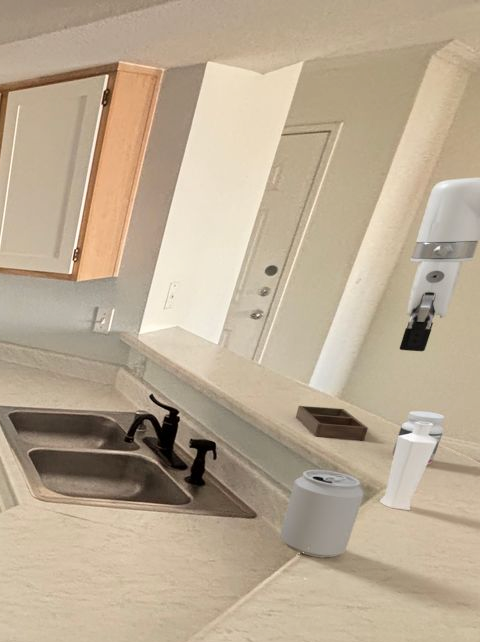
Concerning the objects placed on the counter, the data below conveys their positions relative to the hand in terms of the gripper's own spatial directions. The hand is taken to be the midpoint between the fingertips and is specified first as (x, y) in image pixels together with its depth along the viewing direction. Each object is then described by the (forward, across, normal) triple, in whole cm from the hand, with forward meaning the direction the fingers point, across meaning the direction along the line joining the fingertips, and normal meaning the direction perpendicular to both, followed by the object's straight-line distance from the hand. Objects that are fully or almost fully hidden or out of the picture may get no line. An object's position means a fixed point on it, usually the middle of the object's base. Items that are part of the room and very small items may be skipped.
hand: (413, 346), depth 111 cm
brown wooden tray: (+24, +21, +10) cm, 33 cm away
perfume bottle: (+24, -24, -4) cm, 34 cm away
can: (+24, -52, +4) cm, 57 cm away
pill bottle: (+24, +5, -5) cm, 25 cm away
